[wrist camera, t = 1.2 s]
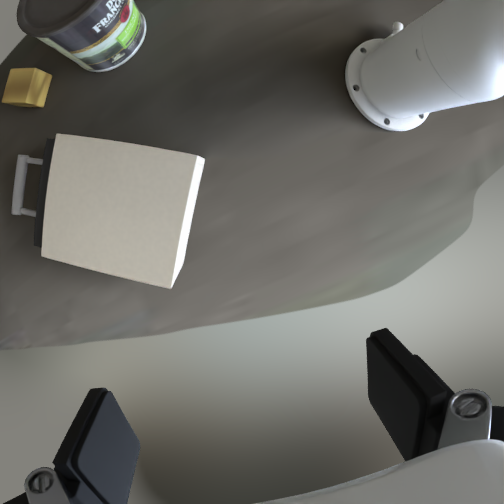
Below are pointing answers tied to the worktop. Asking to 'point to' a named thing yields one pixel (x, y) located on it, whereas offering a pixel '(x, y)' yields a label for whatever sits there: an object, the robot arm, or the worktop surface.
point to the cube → (27, 87)
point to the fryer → (120, 207)
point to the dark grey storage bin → (20, 188)
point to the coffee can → (86, 29)
